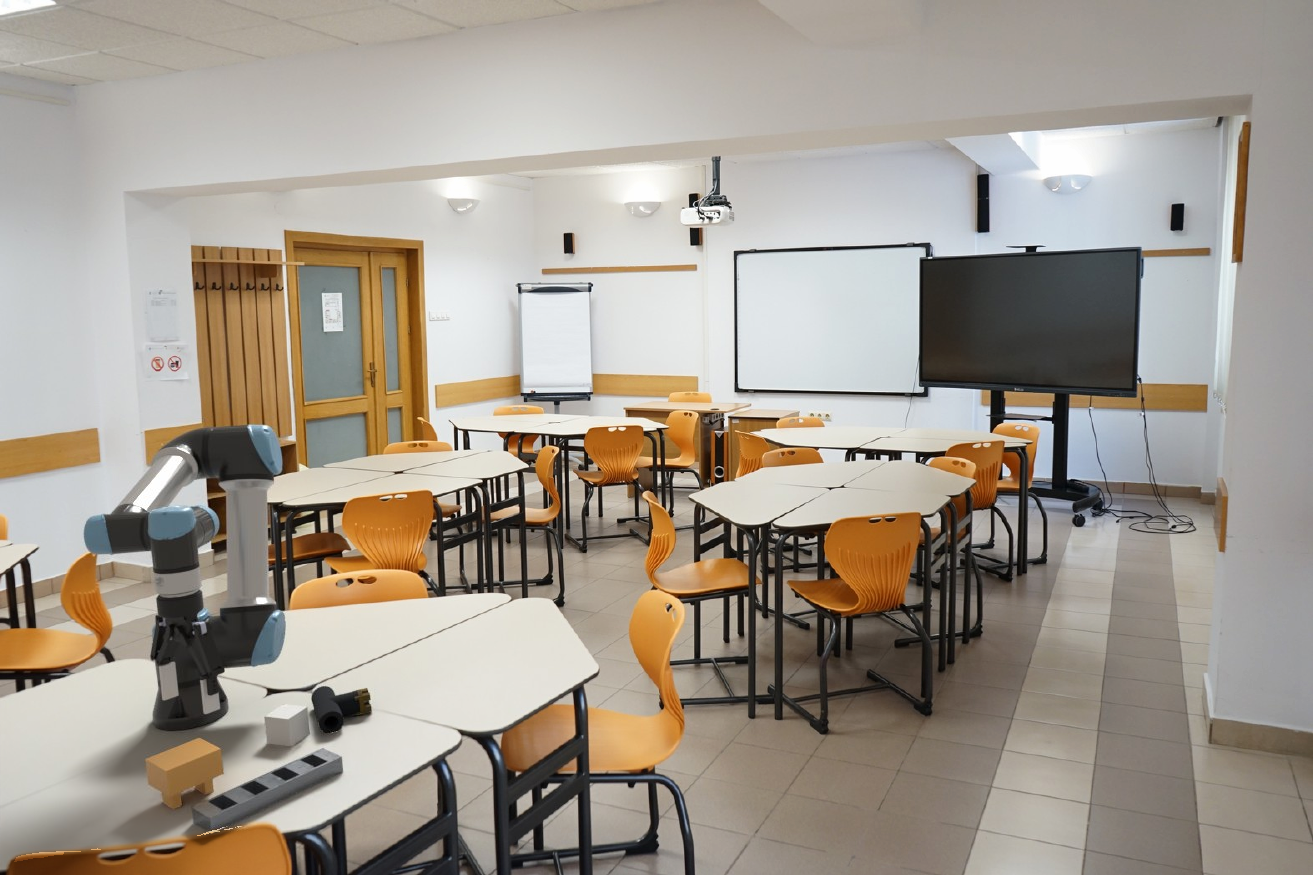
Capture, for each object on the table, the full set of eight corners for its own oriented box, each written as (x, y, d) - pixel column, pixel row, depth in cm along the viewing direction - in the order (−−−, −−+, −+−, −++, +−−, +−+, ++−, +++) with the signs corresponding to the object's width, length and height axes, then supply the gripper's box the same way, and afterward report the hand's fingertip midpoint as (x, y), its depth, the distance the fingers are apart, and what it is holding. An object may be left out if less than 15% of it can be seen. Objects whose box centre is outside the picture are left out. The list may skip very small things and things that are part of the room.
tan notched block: (150, 802, 174) (145, 759, 172) (204, 779, 181) (199, 737, 180) (171, 815, 169) (166, 771, 167) (225, 791, 177) (220, 748, 175)
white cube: (310, 733, 199) (307, 706, 198) (291, 746, 194) (288, 719, 193) (286, 730, 201) (283, 704, 200) (267, 743, 196) (264, 716, 195)
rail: (193, 822, 166) (191, 807, 166) (324, 762, 186) (322, 747, 186) (211, 834, 162) (209, 818, 162) (343, 771, 182) (341, 756, 182)
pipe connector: (363, 676, 216) (373, 700, 202) (365, 698, 216) (376, 724, 203) (309, 688, 211) (317, 713, 197) (312, 710, 212) (320, 737, 198)
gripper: (122, 589, 175) (134, 699, 178) (198, 606, 161) (210, 725, 164) (162, 579, 181) (173, 685, 184) (238, 594, 168) (249, 709, 170)
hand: (190, 704), depth 174 cm, fingers open, 13 cm apart
